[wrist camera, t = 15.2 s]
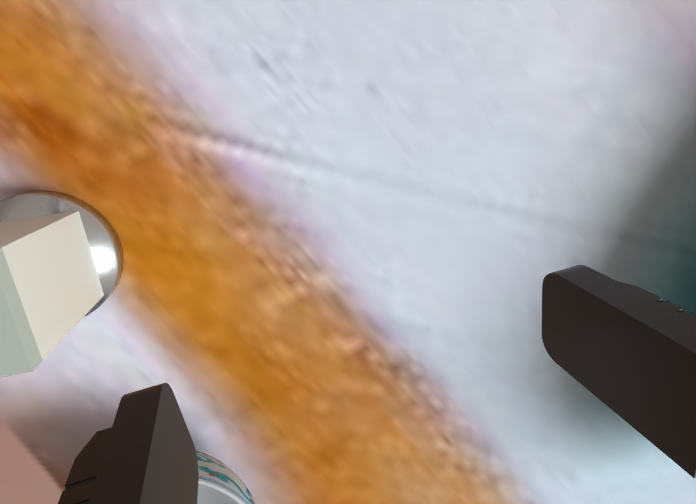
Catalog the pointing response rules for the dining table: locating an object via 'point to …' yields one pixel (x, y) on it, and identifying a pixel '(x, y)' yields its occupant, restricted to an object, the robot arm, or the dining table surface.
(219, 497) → the chinaware
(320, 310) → the dining table surface
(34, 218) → the pale green block
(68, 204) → the grey post on dish
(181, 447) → the robot arm
